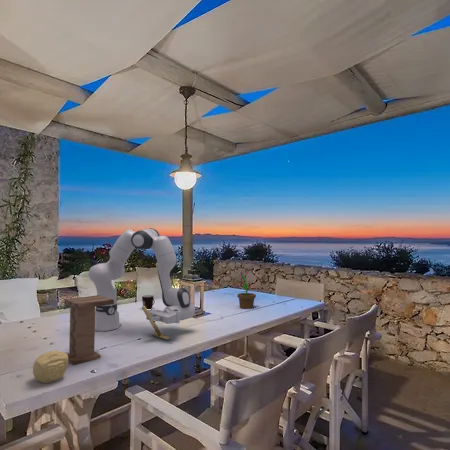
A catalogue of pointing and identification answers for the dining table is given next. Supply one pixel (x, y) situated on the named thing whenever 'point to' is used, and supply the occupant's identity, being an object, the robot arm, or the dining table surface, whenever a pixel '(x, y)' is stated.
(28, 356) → the dining table surface
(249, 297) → the flowerpot
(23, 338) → the dining table surface
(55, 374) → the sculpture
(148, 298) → the coffee mug
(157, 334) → the brass T-key
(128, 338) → the dining table surface
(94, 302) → the walnut stand
